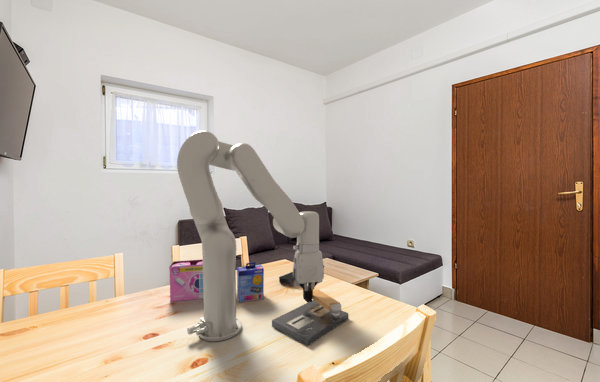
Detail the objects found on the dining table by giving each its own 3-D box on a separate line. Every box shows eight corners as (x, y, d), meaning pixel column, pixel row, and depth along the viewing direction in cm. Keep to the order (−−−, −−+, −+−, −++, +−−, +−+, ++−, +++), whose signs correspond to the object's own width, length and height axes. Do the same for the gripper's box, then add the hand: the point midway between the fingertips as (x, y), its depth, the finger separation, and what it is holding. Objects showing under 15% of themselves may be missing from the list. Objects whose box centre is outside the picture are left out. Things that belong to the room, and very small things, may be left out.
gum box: (234, 288, 116) (234, 256, 116) (234, 295, 109) (234, 262, 108) (174, 294, 111) (173, 261, 110) (169, 302, 103) (168, 266, 103)
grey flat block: (307, 346, 75) (307, 331, 75) (271, 326, 85) (271, 313, 85) (348, 319, 89) (348, 307, 89) (313, 305, 99) (313, 294, 99)
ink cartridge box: (238, 303, 102) (238, 264, 101) (236, 297, 107) (236, 261, 106) (264, 299, 105) (264, 262, 105) (261, 293, 110) (260, 258, 110)
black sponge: (291, 288, 116) (291, 280, 116) (277, 284, 121) (277, 276, 121) (313, 278, 129) (313, 270, 129) (299, 274, 134) (299, 267, 134)
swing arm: (333, 314, 84) (333, 308, 84) (308, 296, 97) (308, 291, 97) (344, 310, 86) (344, 305, 86) (318, 293, 99) (318, 289, 99)
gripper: (291, 252, 87) (291, 309, 87) (332, 248, 93) (332, 301, 93) (283, 247, 94) (283, 299, 94) (322, 243, 100) (322, 293, 100)
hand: (307, 300), depth 94 cm, fingers closed
